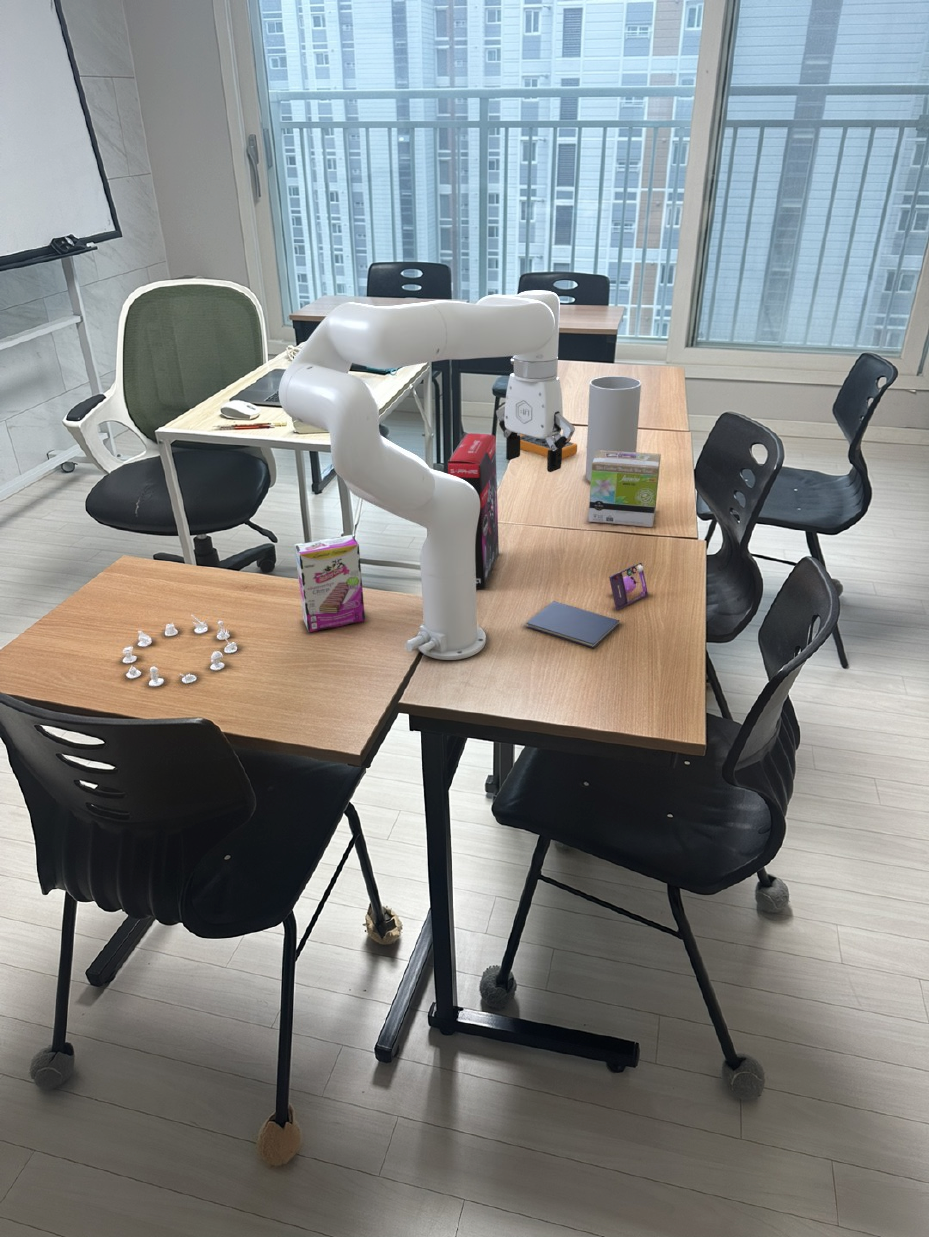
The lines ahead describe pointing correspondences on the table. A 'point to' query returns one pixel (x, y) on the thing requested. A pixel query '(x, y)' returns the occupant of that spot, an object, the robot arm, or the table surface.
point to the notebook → (573, 624)
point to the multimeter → (544, 446)
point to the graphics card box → (480, 496)
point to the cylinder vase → (612, 416)
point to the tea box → (624, 487)
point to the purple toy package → (626, 585)
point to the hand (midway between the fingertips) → (533, 464)
